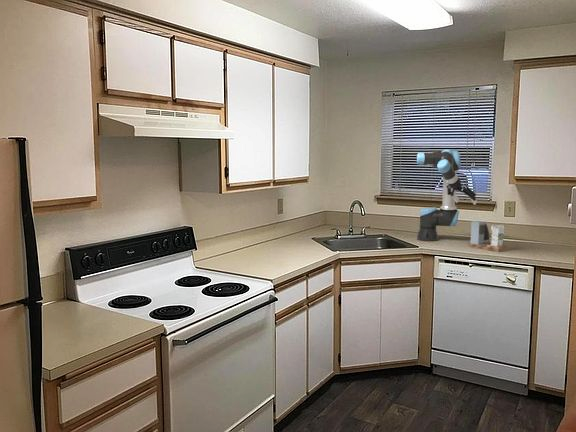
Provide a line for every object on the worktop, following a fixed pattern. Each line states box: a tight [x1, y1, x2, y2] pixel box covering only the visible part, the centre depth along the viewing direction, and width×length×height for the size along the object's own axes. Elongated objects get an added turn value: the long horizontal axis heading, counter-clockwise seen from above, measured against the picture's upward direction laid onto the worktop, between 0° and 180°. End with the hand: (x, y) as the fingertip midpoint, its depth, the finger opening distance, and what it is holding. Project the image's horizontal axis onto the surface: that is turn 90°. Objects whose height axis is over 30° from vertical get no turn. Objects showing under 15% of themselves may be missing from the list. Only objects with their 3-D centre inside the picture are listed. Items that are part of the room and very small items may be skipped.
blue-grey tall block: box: [470, 220, 486, 245], centre depth 345 cm, size 7×6×15 cm
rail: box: [467, 242, 508, 253], centre depth 340 cm, size 23×9×3 cm, turn 34°
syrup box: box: [489, 224, 505, 247], centre depth 333 cm, size 6×6×14 cm
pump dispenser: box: [484, 222, 491, 244], centre depth 357 cm, size 10×10×15 cm
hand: (466, 202), depth 330 cm, fingers open, 13 cm apart
